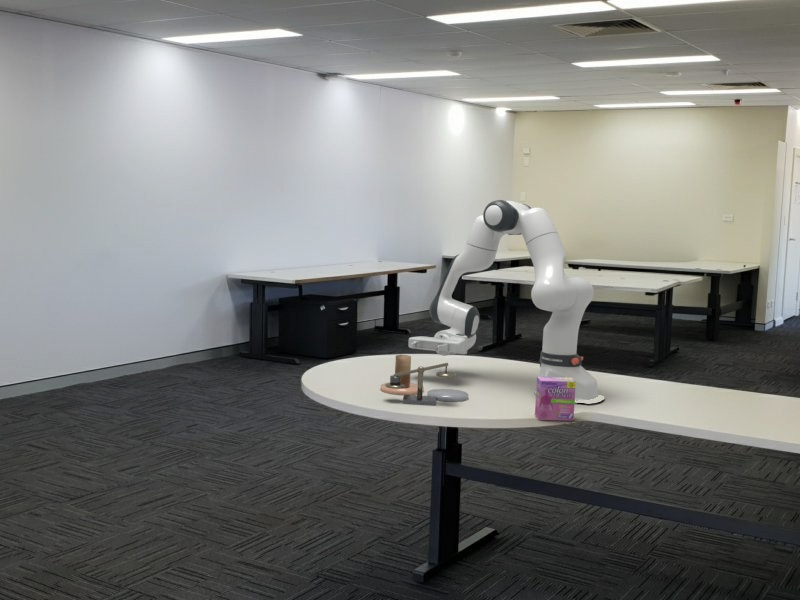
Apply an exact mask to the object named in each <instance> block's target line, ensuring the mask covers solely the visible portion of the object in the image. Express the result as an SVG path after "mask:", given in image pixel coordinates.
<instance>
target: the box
mask: <svg viewBox="0 0 800 600" xmlns="http://www.w3.org/2000/svg"><path fill="white" fill-rule="evenodd" d="M535 390H536V394H535V407H534V408H535V409H534V416H535V415H536V416H535V418H536V417H537V418H538V419H537V418H536V419H537V421H558V422H559V421H560V422H561V421H563V422H565V421H569V422H574V421H575V407H576V406H575V404H576V403H575V390H576V381H575V380H574V379H573V378H564V377H539V376H537V377H536V387H535Z"/></svg>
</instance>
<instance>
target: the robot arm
mask: <svg viewBox="0 0 800 600" xmlns="http://www.w3.org/2000/svg"><path fill="white" fill-rule="evenodd" d="M506 234H507V235H508V236H512V235H513V236H514V235H517V236H522V238H523V239H524V242H525V245H526V248H527V251H528V254H529V256H530V259H531V262H532V265H533V270H534V284H533V286H532V288H531V291H530V292H531V294H530V295H531V301H532V303H533V304H534V305H535V308H538V309H540V310H543V311H547V312H552V313H551V315H550V318H549V320H548V321H547V323H546V324H545V325H544V327H543V330H542V331H543V334H542V350H541V351H540V356H539V357H540V358H539V368H540V369H539V376H538V377H564V378H573V379H574V380H575V381H576V390H575V400H576V401H578V400H590V399H594V398H596V397H598V394H599V386H598V385H599V384H598V381H597V379H596V378H595V377H594V376H592V374H590V372H588V371H587V370H586V369H585V368H584V367H583V366H582V363H583V362H582V361H583V360H584V356H580V355H579V354H578V353H577V351H578V350H577V349H578V347H577V346H578V339H579V338H578V336H579V330H580V325H581V322H582V319H583V317H584V314H585V311H586V310H587V307H588V306H589V304H590V303H592V301H593V299H594V293H595V292H594V287H593V285H592V284H591V282H590V281H589V280H588V279H585V278H583V277H580V276H576V275H571V276H570V275H569V276H566V274H565V270H564V269H565V267H564V261H565V260H566V257H567V253H566V251H565V247H564V246H563V243H562V240H561V237H560V235H559V232H558V230H557V228H556V225H555V223H554V221H553V219H552V218H551V216H550V214H549V213H548V211H546V210H545V209H544V208H542V207H531V206H530V205H528V204H526V203H520V202H516V201H513V200H503V199H498V200H497V199H496V200H493V201H491V202H489V203H488V204H487V205H486V206H485V208H484V210H483V214H481V215H478V216H477V217H476V218H475V219H474V221H473V224H472V226H471V228H470V230H469V233H468V236H467V240H466V243H465V246H464V248H463V250H462V251H461V252H460V253H459V254H456V255H455V256H454V257H453V258H452V260H451V262H450V264H449V266H448V268H447V270H446V271H445V274H444V277H443V279H442V281H441V283H440V286H439V289H438V291H437V293H436V295H435V296H434V297H433V300H432V301H431V303H430V305H429V309H428V311H429V315H430V318H431V320H432V321H433V322H434V323H436V324H437V323H438V324H441V325H445V326H447V327H450V328H449V329H443V330H439V331H437V332H436V333H435V334H434V336H433V337H430V336H411V337H409V338H408V348H410V349H415V350H416V349H417V350H424V351H434V352H436V353H437V354H438V355H439V356H443V357H445V356H446V357H447V356H452V355H467V353H468V350H469V349H471V348H472V347H473V346H474V345H475V343H476V340H477V332H478V330H479V327H480V324H481V323H480V322H481V316H480V312H479V310H478V309H477V307H476V306H473V305H472V304H469V303H468V304H467V303H465V302H462V301H459V300H456V299H454V298H453V297H452V295H453V292H454V291H455V289H456V286H457V284H458V281H459V279H460V277H462V276H463V274H466V273H473V272H482V271H485V270H487V269H489V268H490V267H491V266H492V265H493V263H494V262H495V260H496V256H497V252H498V249H499V244H500V241H501V238H503V236H505V235H506ZM534 394H535V395H536V389H535V391H534Z"/></svg>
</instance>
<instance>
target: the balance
mask: <svg viewBox="0 0 800 600" xmlns="http://www.w3.org/2000/svg"><path fill="white" fill-rule="evenodd" d="M448 366H449V362H445V363H440V364H435V365H431V366H426V367H424V366H421V365H420V366H418V367H417V368H416V369H411V370H410V371H406V372H401V373H396V374H395V373H393V374H392V375H390V376H389V382H385V383H386V384H385V387H387V388H392V389H401V388H405V384H402V383H400V381H401V376H402V375H407V374H410V375H411V374H415V373H416V374H417V384H418V388H417V394H416V395H403V396H402V397H403V399H402V404H403V405H420V406H421V405H422V406H424V405H425V406H437V405H436V403H437V400H436V396H427V395H423V393H424V392H423V387H424V373H425V371H430V370H436V369H439V368H440V369H441V368H444V367H445V371H438V372H436V373H435V376H436V377H439V378H456V375H457V373H456V372H452V371H448Z"/></svg>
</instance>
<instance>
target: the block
mask: <svg viewBox="0 0 800 600" xmlns="http://www.w3.org/2000/svg"><path fill="white" fill-rule="evenodd" d="M394 364H395V367H394V374H396V373H401V372H406V371H410V370H412V365H411V364H412V356H411V355H407V354H397V355H395V363H394ZM400 383H402V384H405V388H409V387H410V383H411V374H407V375H402V376H401V381H400Z"/></svg>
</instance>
